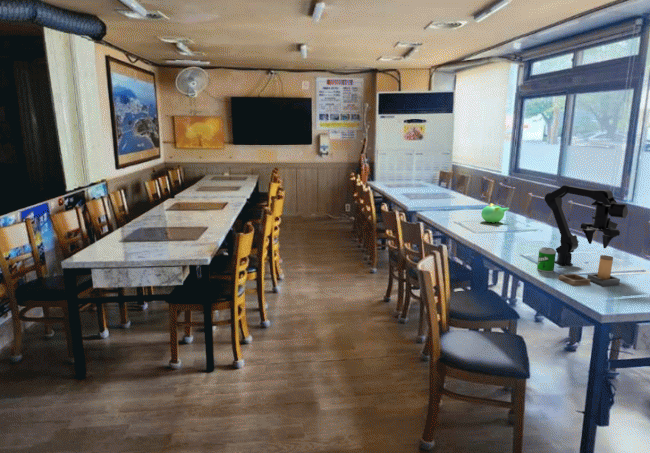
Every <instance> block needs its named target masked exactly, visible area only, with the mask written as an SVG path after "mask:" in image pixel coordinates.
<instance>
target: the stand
mask: <svg viewBox="0 0 650 453" xmlns="http://www.w3.org/2000/svg"><path fill="white" fill-rule="evenodd" d="M557 280H558V281H560V282H563V283H565V284H568V285H570V286H573V287H577V286H589V285H592V283H591V282H590V279H587V277H584V276H582V275H580V274H577V273H569V274H568V273H567V274H559V275H558V278H557Z"/></svg>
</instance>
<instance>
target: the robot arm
mask: <svg viewBox="0 0 650 453" xmlns="http://www.w3.org/2000/svg"><path fill="white" fill-rule="evenodd" d="M567 194H571V195H575V196H581V197H586V198H590V199H592V200H593V201H594V202H592V203H591V206H595V210H594V211H595V212H594V216H592V217H591V218H592V220H593V223H592V222H582V223H581V224H580V229H581V230H582V231H583V233H584V235H585V237H586V240H587V242H588V244H589V245H591V244H592V243H593V237H594V233H595V232H596V231H598V232H602V233H603V234H602V246H603V249H607V248H608V246H609V244H610V242H611V241H612V240H613V239H614V238H617V237H618V236H620V235H621V231H620V229H618V228H617V227H618V223H616V222H614V221H611V218H618V219H626V218H627V216H628V214H629V210H628V207H627V206H628V204H627V203H618V202H617V201H616V199H615V197H614V194H613V192H612V190H611V189H590V188H586V187H579V186H574V185H570V184H566V185H565V184H564V185H562V186H560V187H559V188H557V189H555V190H554V191H552V192H548V193H547V194H545V196H544V198H543V199H544V202H545V203H546V205H547V206H548V207H549V209H550V210H551V211H552V213H553V217H554V219H555V222H556V225H557V229H558V231H559V234H560V241H559V242H560V246H558V247H556V248H555V251H556V254H557V256H556V257H557V258H556V260H555V263H556V264H558V265H561V266H573V265H574V264H573V263H572V259H573V258H572V257H573V256H572V255H573V254H572V253H574V251H575V250H577V248H578V247H579V243H580V241H579V240H578V237H577V235H576V234H575V235H573V234H572V232H571V231H570V227H569V225H568V222H567V219H566V215H565V213H564V210H563V208H562V206H563V200H562V198H564V197H565V196H567ZM609 216H610V217H609Z"/></svg>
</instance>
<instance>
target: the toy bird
mask: <svg viewBox="0 0 650 453" xmlns="http://www.w3.org/2000/svg"><path fill="white" fill-rule="evenodd" d="M509 210H510V207H501V206H500V205H498V204H494V203H492V202H490V204H489V205H486V206H485V207H484V208H482V210H481V218H482V219H483V221H485V222H487V223H490V222H492V223H493V224H494V223H495V222H496V223H499V222H501V221H502V220H503V218H504V217H505V212H507V211H509ZM492 223H491V224H492ZM496 223H495V224H496Z"/></svg>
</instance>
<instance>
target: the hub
mask: <svg viewBox="0 0 650 453" xmlns="http://www.w3.org/2000/svg"><path fill="white" fill-rule="evenodd" d="M597 275H598V273H588V274H587V275H586V276H587V277H586V278H587V279H590V284H595V285H596V286H599V287H602V288H609V287H620V286H621V287H622V286H624V283H621V279H620V278H619V277H615V276H612V275H610V279H604V280H603V279H601V278H598V277H597Z"/></svg>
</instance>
